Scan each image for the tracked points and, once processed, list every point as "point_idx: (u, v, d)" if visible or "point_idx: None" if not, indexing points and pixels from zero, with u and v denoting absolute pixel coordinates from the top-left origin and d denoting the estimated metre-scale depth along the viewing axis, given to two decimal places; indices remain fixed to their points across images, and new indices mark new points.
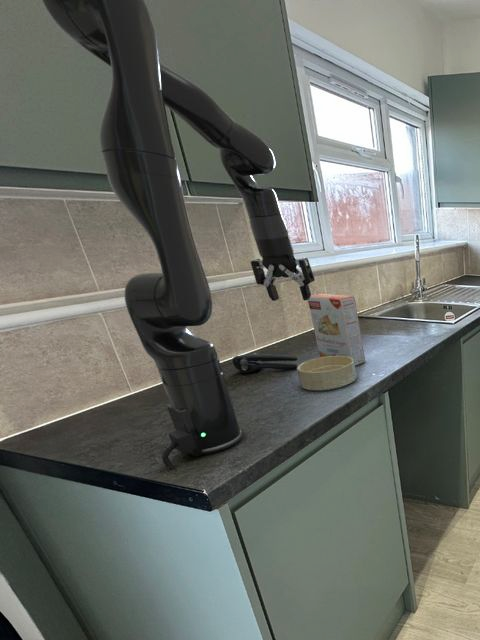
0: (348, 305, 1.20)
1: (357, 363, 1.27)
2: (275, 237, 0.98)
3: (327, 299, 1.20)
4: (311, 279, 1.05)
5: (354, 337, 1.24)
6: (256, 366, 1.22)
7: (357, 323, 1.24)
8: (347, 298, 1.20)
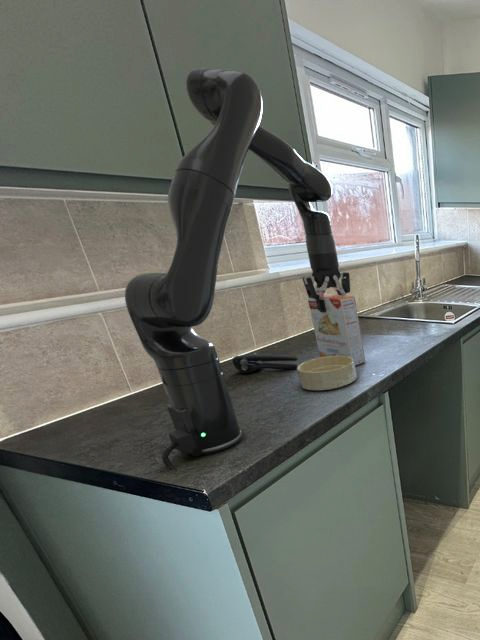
0: (348, 305, 1.20)
1: (357, 363, 1.27)
2: None
3: (327, 299, 1.20)
4: None
5: (354, 337, 1.24)
6: (256, 366, 1.22)
7: (357, 323, 1.24)
8: (347, 298, 1.20)
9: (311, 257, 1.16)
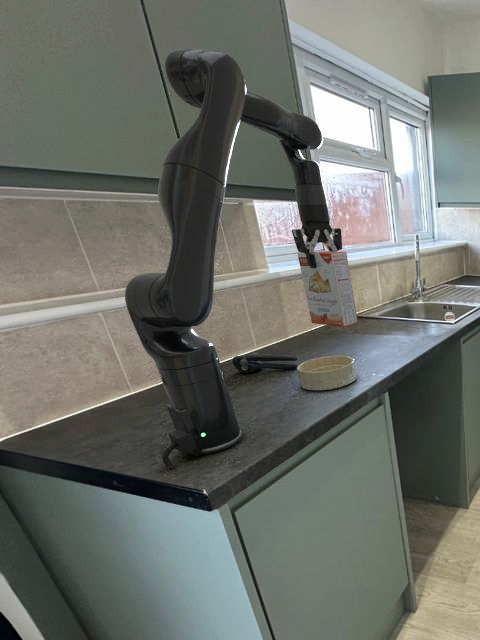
0: (339, 260, 1.15)
1: (349, 323, 1.22)
2: None
3: (318, 254, 1.15)
4: None
5: (346, 295, 1.19)
6: (256, 366, 1.22)
7: (349, 281, 1.19)
8: (338, 253, 1.15)
9: (301, 208, 1.11)
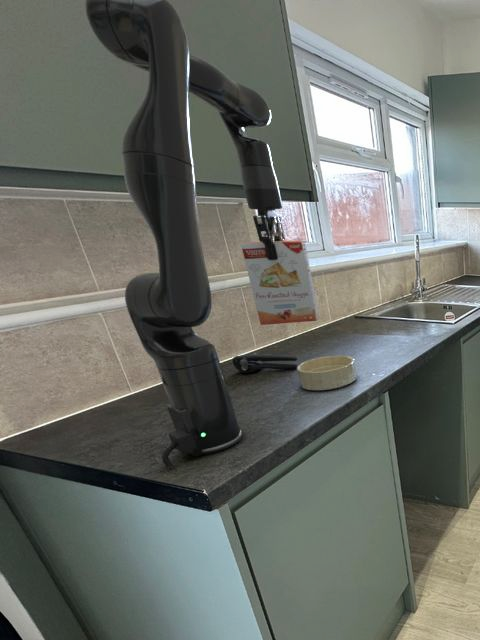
0: (304, 250, 1.09)
1: (317, 316, 1.16)
2: None
3: (279, 243, 1.05)
4: None
5: (312, 287, 1.13)
6: (256, 366, 1.22)
7: (310, 272, 1.13)
8: (302, 242, 1.09)
9: (258, 192, 0.99)
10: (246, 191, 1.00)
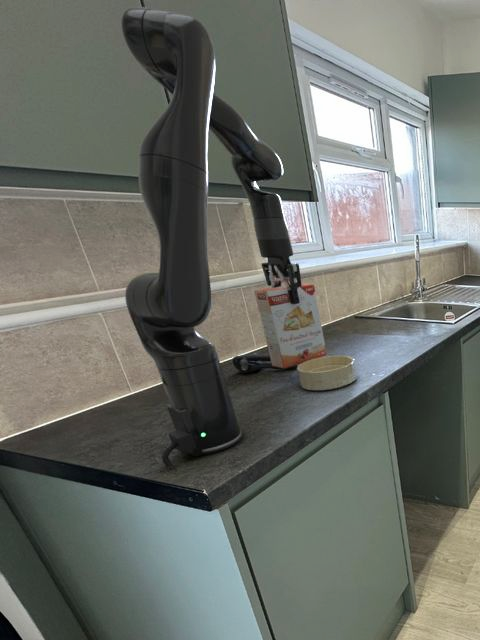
0: None
1: None
2: None
3: (298, 288, 1.11)
4: None
5: None
6: (256, 366, 1.22)
7: None
8: None
9: (283, 242, 1.05)
10: (269, 241, 1.03)
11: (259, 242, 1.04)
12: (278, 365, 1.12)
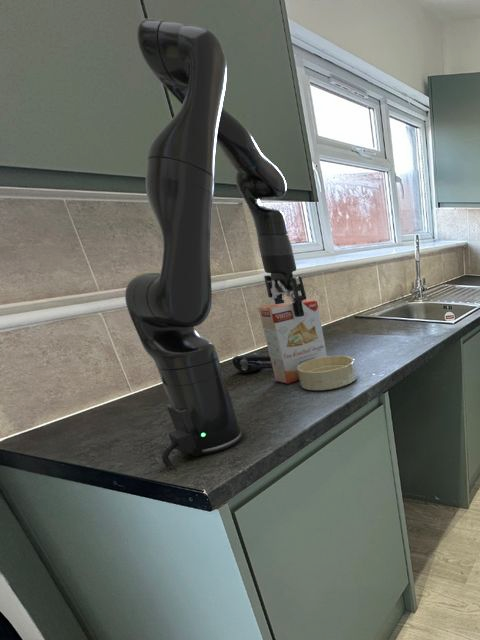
0: None
1: None
2: None
3: None
4: None
5: None
6: (256, 366, 1.22)
7: None
8: None
9: (286, 258, 1.06)
10: (272, 257, 1.05)
11: (263, 258, 1.05)
12: (282, 380, 1.14)
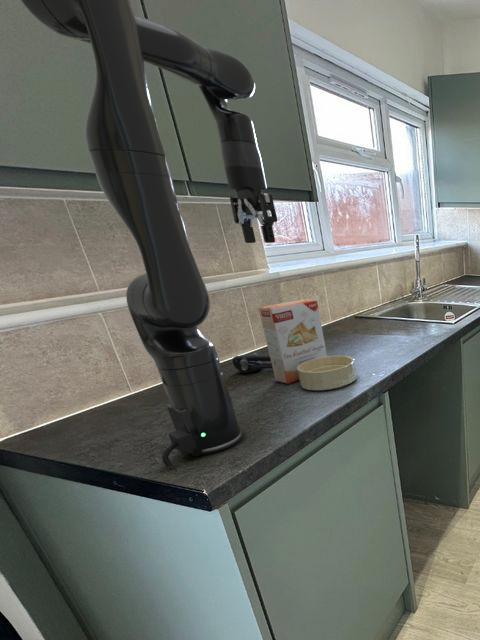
0: None
1: None
2: None
3: (301, 304, 1.13)
4: None
5: None
6: (256, 366, 1.22)
7: None
8: None
9: (254, 171, 0.92)
10: (237, 168, 0.90)
11: (226, 170, 0.91)
12: (282, 380, 1.14)
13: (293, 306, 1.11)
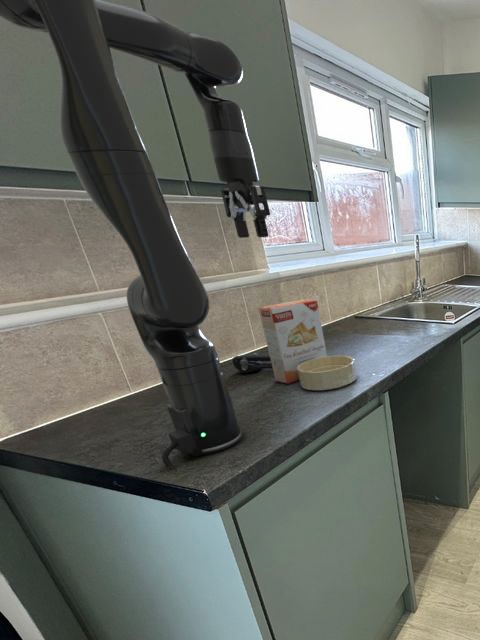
0: None
1: None
2: None
3: (301, 304, 1.13)
4: None
5: None
6: (256, 366, 1.22)
7: None
8: None
9: (245, 162, 0.88)
10: (227, 159, 0.86)
11: (216, 161, 0.87)
12: (282, 380, 1.14)
13: (293, 306, 1.11)
